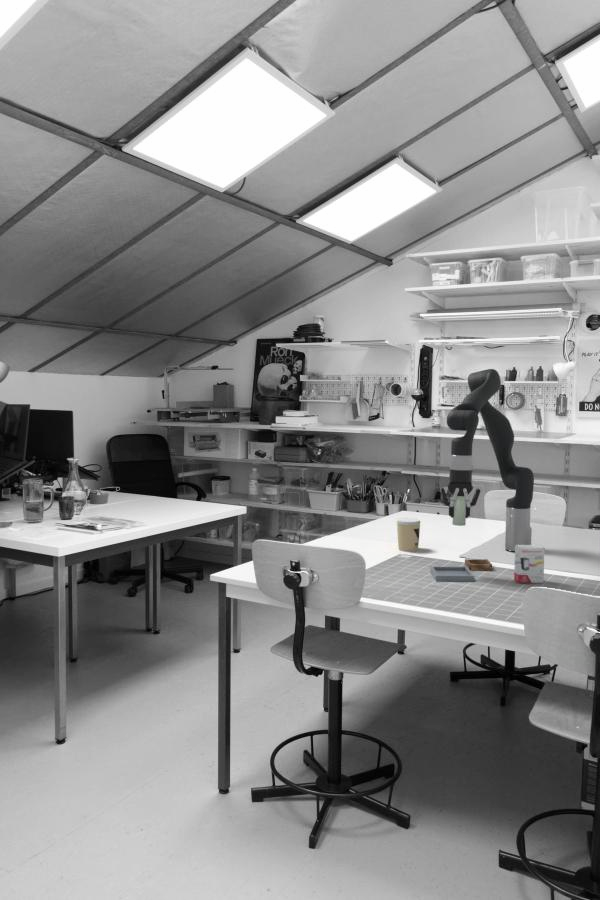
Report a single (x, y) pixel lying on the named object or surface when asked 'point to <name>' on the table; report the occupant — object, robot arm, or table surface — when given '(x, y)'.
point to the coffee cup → (408, 534)
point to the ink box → (529, 564)
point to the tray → (451, 573)
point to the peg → (459, 511)
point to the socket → (478, 564)
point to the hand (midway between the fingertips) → (459, 517)
